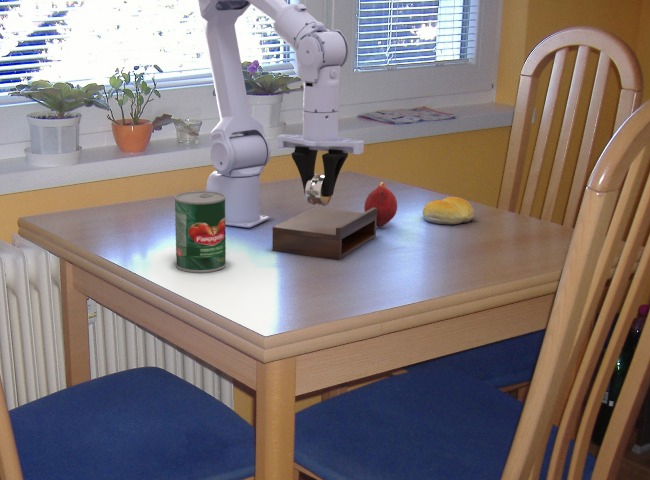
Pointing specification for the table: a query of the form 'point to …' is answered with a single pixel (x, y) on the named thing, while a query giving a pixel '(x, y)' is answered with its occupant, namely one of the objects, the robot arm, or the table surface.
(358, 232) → the shelf
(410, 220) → the table surface
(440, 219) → the bread roll
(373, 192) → the red squash
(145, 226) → the table surface
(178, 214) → the canned tomato
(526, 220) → the table surface
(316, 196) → the grooved metal pulley
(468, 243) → the table surface
